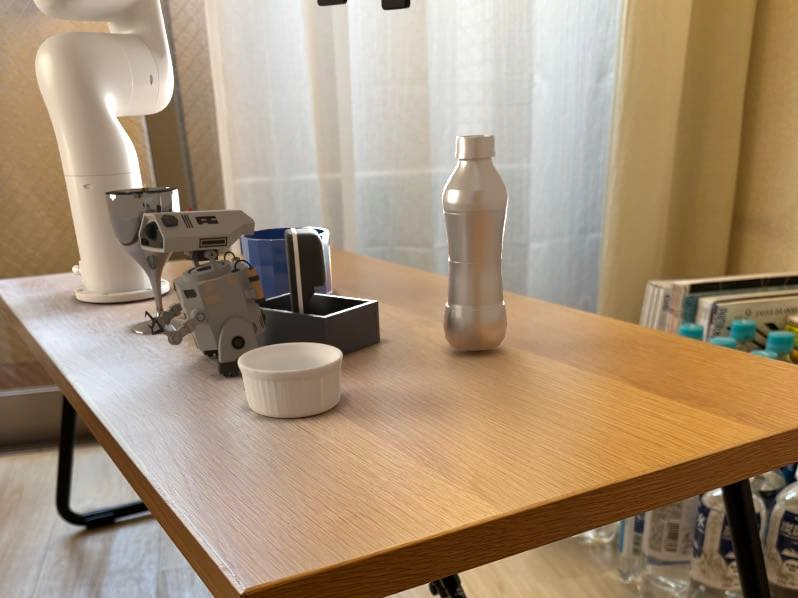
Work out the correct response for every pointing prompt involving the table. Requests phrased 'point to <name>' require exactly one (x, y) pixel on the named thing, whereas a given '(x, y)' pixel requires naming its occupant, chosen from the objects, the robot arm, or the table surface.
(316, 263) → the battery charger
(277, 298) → the bin
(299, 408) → the ramekin
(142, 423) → the table surface
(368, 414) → the table surface
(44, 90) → the robot arm
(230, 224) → the figurine
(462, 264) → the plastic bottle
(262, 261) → the cup
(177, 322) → the wine glass
